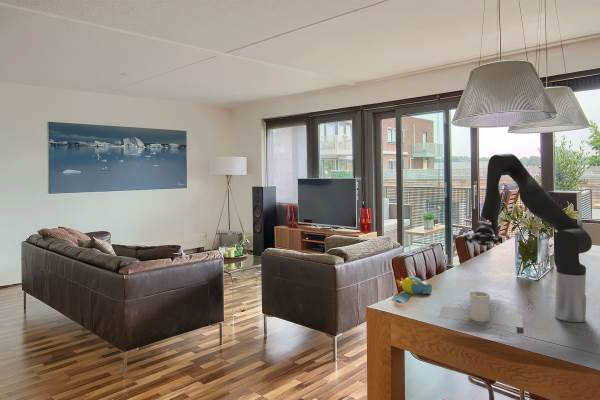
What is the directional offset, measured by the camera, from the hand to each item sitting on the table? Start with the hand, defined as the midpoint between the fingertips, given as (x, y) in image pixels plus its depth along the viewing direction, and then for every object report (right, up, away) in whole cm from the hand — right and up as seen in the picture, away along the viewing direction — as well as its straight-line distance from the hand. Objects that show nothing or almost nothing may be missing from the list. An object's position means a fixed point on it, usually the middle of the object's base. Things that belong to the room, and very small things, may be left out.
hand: (482, 241), depth 169 cm
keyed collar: (-5, -27, -10) cm, 29 cm away
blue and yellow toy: (-20, -27, +26) cm, 42 cm away
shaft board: (-4, -29, -7) cm, 30 cm away
